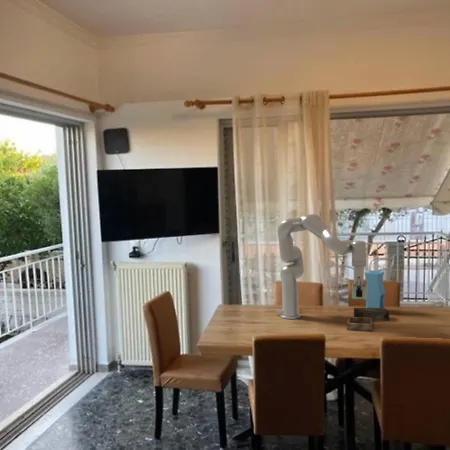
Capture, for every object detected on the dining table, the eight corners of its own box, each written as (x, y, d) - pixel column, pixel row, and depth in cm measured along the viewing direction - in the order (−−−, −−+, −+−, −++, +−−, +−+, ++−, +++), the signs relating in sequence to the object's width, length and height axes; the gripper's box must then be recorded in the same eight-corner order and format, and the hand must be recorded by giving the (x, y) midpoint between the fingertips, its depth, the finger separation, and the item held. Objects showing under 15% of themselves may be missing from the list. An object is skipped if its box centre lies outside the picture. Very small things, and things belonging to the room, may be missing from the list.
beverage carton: (389, 320, 262) (389, 309, 262) (356, 321, 262) (356, 310, 262) (385, 317, 270) (385, 306, 270) (352, 318, 270) (352, 307, 270)
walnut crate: (347, 329, 247) (347, 323, 246) (348, 322, 260) (348, 316, 260) (372, 331, 243) (372, 324, 242) (372, 324, 256) (372, 318, 256)
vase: (369, 308, 290) (369, 269, 288) (385, 310, 284) (385, 271, 282) (364, 312, 282) (364, 272, 280) (380, 314, 276) (380, 273, 274)
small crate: (351, 299, 248) (351, 286, 248) (352, 296, 255) (352, 284, 254) (366, 299, 246) (366, 287, 245) (367, 297, 252) (367, 284, 252)
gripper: (352, 260, 258) (353, 292, 260) (351, 265, 242) (351, 298, 243) (366, 261, 256) (366, 292, 257) (365, 265, 240) (366, 299, 241)
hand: (359, 295), depth 250 cm, fingers closed on small crate, 6 cm apart
